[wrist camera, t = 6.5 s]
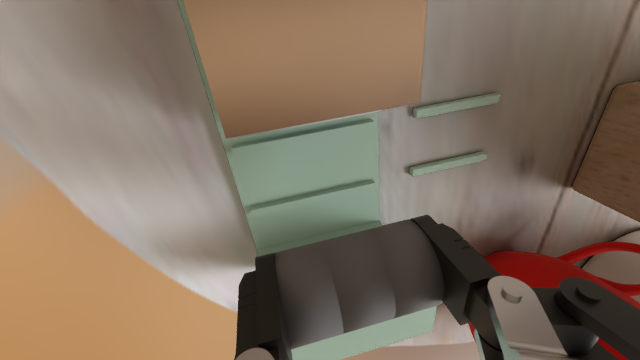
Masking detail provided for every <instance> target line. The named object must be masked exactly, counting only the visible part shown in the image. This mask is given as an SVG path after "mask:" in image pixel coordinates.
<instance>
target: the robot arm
mask: <svg viewBox="0 0 640 360" xmlns="http://www.w3.org/2000/svg"><path fill="white" fill-rule="evenodd" d="M410 220H411V221H413V222H414V223H416V224H417V225H418V226H419V227H420V228H421V229H422V230H423V232H424V233H425V234H426V236H427V237H428V239H429V241H430V242H431V244H432V246H433V248H434V250H435V252H436V255H437V257H438V260H439V263H440V266H441V270H442V274H443V279H444V298H443V302H444V304H445V305H446V306H447V308H448V309H449V310H450V312H451V313H452V315H453V316H454V317H455V319H456V320H457V322H458V323H459V324H460V325H463V324H466V323H469V322H471V323H472V325H473V326H474V327H475V331H474V336H475V340H476V344H477V348H478V352H479V355H480V359H481V360H619V359H618V358H617V357H615V356H614V355H613V354H611V353H610V352H609V351H608V350H606V349H605V348H604V347H602V346H601V345H600V344H598V343H597V340H598V339H599V338H600V339H602V340H603V341H604V342H606V343H607V344H608V345H610V346H611V347H612V348H614V349H615V350H616V351H618V352H619V353H620V354H622V355H623V356H624V357H626V358H627V359H628V360H640V310H639V309H637V308H636V307H634V306H633V305H631V304H629V303H628V302H626V301H625V300H623V299H621V298H620V297H618V296H616V295H615V294H613V293H612V292H610V291H608V290H607V289H605V288H604V287H602V286H600V285H598V284H596V283H594V282H592V281H589V280H587V279H583V278H578V277H568V278H565V279H563V280H562V281H561V282H560V284H559V286H558V288H534V287H529V286H528V285H526V284H525V283H523V282H522V281H520V280H518V279H515V278H512V277H508V276H502V275H501V274H500V273H499V272H498V271H497V270H496V269H495V268H493V267H492V266H491V265H490V264H489V263H488V262H487V261H486V260H485V259H484V258H483V257H482V256H481V255H480V254H479V253H478V252H477V251H476V250H475V249H474V248H473V247H471V246H470V244H469V243H468V242H467V241H465V240H463V238H462V237H461V236H460V235H459V234H458V233H457V232H456V231H455V230H454V229H452V228H450V227H448V226H446V225H444V224H437V223H436V222H435V221H434V220H433V219H432V218H431V217H430V216H429V215H424V216H420V217H416V218H412V219H410ZM255 265H256V271H253V272H249V273H245V274H244V276H243V278H242V280H241V282H240V284H239V295H238V298H239V300H238V320H237V321H238V322H237V344H236V355H235V359H234V360H292V352H291V346H290V343H289V339H288V336H287V332H286V328H285V323H284V319H283V314H282V309H281V304H280V299H279V293H278V287H277V281H276V274H275V265H274V253H270V254H266V255H262V256H258V257H256V258H255Z"/></svg>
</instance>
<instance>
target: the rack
mask: <svg viewBox="0 0 640 360" xmlns="http://www.w3.org/2000/svg"><path fill="white" fill-rule="evenodd" d="M500 95H501V94H497V93H492V94H487V95H482V96H476V97H471V98H466V99H460V100H455V101H450V102H444V103H439V104H434V105H428V106H423V107H418V108H413V117H414V118H416V119H418V118H423V117H428V116H433V115H439V114H444V113H449V112H454V111H459V110H464V109H470V108H475V107H480V106H485V105H490V104H495V103H499V99H500ZM487 155H488V153H486V152H484V151H481V152H477V153H472V154H468V155H463V156H458V157H454V158H449V159H445V160H440V161H436V162H431V163H426V164H422V165H417V166H413V167H410V173H409V174H410V175H411V176H412V177H414V176H418V175H423V174H427V173H432V172H436V171H441V170H445V169H450V168H454V167H459V166H463V165H467V164H472V163H476V162H481V161H485V160H487Z"/></svg>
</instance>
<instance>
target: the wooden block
mask: <svg viewBox="0 0 640 360" xmlns="http://www.w3.org/2000/svg"><path fill="white" fill-rule="evenodd" d="M573 189H574V190H575V191H577V192H579V193H581V194H583V195H585V196H587V197H589V198H591V199H593V200H595V201H597V202H599V203H601V204H603V205H605V206H607V207H609V208H611V209H614V210H616V211H618V212H620V213H622V214H624V215H626V216H628V217H630V218H632V219H634V220H636V221H638V222H640V81H638V82H632V83H627V84H621V85H618V86H616V88H615V89H614V90H613V92H612V94H611V96H610V99H609V101H608V104H607V106H606V108H605V111H604V113H603V115H602V118H601V120H600V122H599V125H598V127H597V129H596V132H595V134H594V137H593V139H592V141H591V144H590V146H589V148H588V151H587V153H586V155H585V158H584V160H583V162H582V165H581V167H580V170H579V172H578V174H577V177H576V179H575V181H574V184H573Z"/></svg>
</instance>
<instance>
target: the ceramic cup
mask: <svg viewBox="0 0 640 360" xmlns="http://www.w3.org/2000/svg"><path fill="white" fill-rule="evenodd" d="M611 251H626V252H634V253H638V254H640V245H639V244H635V243H628V242H603V243H598V244H594V245H590V246H587V247H583V248H580V249H578V250H575V251H572V252H570V253H568V254H565V255H563V256H561V257H558V258H554V257H551V256H547V255H542V254H536V253H529V252H513V251H508V250H506V251H499V252H496V253H493V254H491V255H489V256H487V257H485V258H484V259H485V260H486V261H487V262H488V263H489V264H490V265H491V266H492V267H493V268H495V269H496V270H497V271H498V272H499V273H500V274H501V275H502V276H508V277H512V278H515V279H518V280H520V281H522V282H523V283H525V284H526V285H528V286H529V287H534V288H558V286H559V284H560V282H561V281H562V280H563V279H565V278H568V277H578V278H583V279H587V280H589V281H592V282H594V283H596V284H598V285H600V286H602V287H604V288H605V289H607V290H608V291H610V292H612V293H613V294H615V295H616V296H618V297H620V298H621V299H623V300H625V301H626V302H628V303H629V304H631V305H633V306H634V307H636V308H637V309H639V310H640V303H639V302H638V301H636V300H635V299H633V298H631V297H632V296H639V295H640V284H621V283H616V282H613V281H610V280H607V279H604V278H601V277H596V276H595V275H593V274H591V273H589V272H587V271H585V270H583V269H581V268H579V267H577V266H575V265H573V263H575V262H577V261H579V260H581V259H584V258H586V257H589V256H593V255H596V254H600V253H604V252H611ZM469 326H470V329H471V332H472V335H473V337H474V340H475V336H474V331H475V327H474V326H473V325H472V323H471V322H469ZM475 342H476V340H475ZM597 343H598V344H600V345H601V346H602V347H604V348H605V349H606V350H608V351H609V352H610V353H611V354H613V355H614V356H615V357H617V358H618V359H619V360H628V359H627V358H626V357H624V356H623V355H622V354H620V353H619V352H618V351H616V350H615V349H614V348H612V347H611V346H610V345H608V344H607V343H606V342H604V341H603V340H602V339H600V338H599V339H598V340H597Z"/></svg>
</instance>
